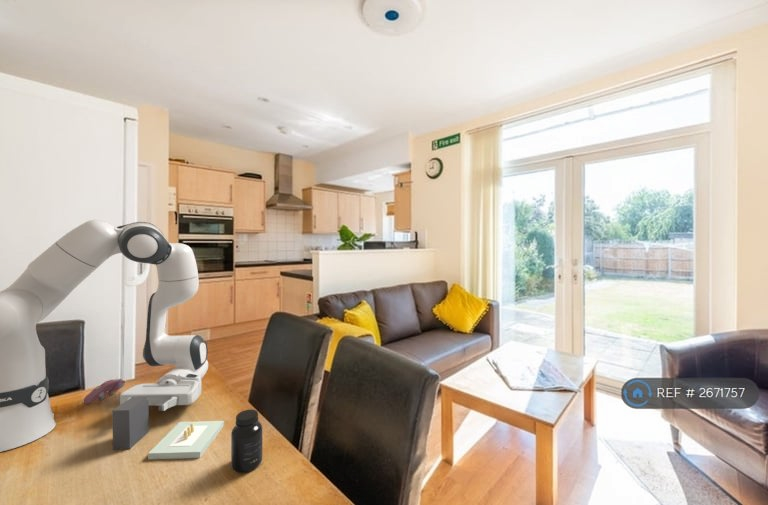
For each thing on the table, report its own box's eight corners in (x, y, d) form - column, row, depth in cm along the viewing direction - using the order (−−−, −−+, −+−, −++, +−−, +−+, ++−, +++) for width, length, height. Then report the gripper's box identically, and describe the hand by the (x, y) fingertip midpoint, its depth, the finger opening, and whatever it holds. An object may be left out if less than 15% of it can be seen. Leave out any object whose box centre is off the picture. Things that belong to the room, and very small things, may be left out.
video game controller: (91, 410, 98) (98, 392, 97) (80, 402, 99) (88, 384, 98) (122, 395, 108) (130, 378, 107) (112, 388, 109) (120, 371, 108)
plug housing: (112, 449, 78) (112, 410, 78) (133, 432, 85) (132, 396, 85) (129, 449, 78) (129, 410, 78) (148, 432, 85) (148, 396, 85)
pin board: (148, 459, 75) (148, 444, 75) (179, 427, 88) (179, 414, 88) (200, 457, 76) (200, 442, 76) (223, 426, 89) (223, 413, 89)
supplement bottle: (226, 464, 74) (225, 414, 73) (253, 450, 79) (253, 403, 79) (239, 479, 69) (239, 426, 69) (268, 462, 75) (268, 413, 74)
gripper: (138, 376, 99) (103, 398, 85) (205, 375, 101) (181, 396, 87) (139, 395, 99) (103, 420, 86) (205, 394, 101) (181, 419, 87)
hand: (143, 408), depth 86 cm, fingers open, 8 cm apart
